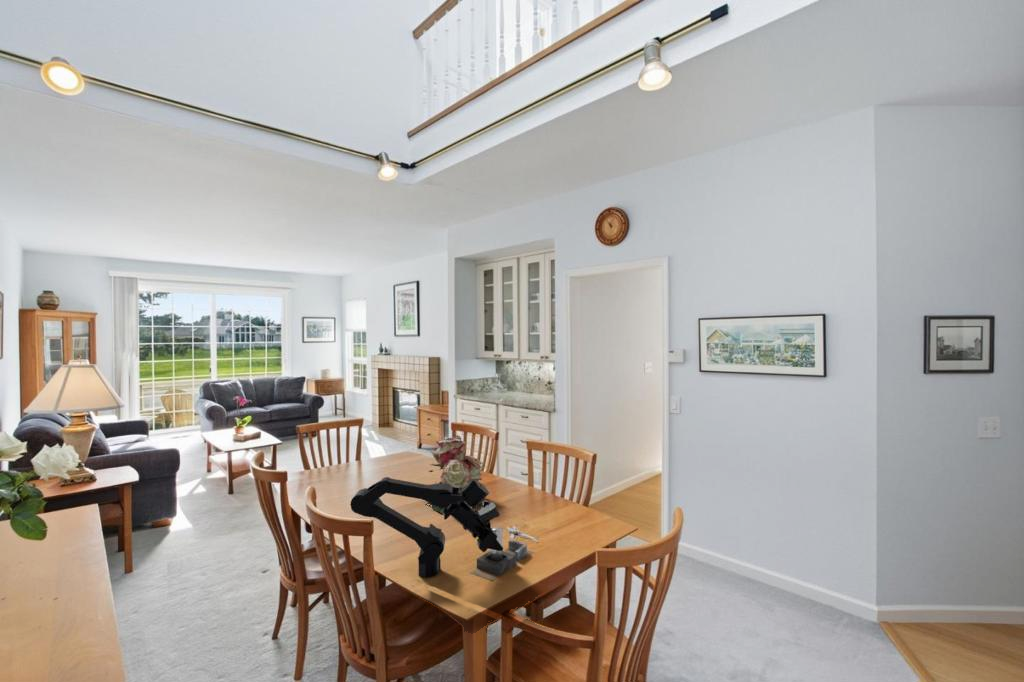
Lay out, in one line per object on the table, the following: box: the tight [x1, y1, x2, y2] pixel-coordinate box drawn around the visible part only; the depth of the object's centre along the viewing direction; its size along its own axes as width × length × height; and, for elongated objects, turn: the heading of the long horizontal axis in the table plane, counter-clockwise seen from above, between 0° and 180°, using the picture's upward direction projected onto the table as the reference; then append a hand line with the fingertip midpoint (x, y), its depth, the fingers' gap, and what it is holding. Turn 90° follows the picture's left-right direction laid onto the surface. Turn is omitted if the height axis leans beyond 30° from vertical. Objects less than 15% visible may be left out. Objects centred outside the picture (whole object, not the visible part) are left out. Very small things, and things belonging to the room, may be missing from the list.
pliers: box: [505, 525, 538, 544], centre depth 176 cm, size 10×2×15 cm
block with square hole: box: [469, 538, 535, 582], centre depth 153 cm, size 23×9×4 cm, turn 145°
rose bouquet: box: [426, 434, 483, 515], centre depth 214 cm, size 26×29×30 cm
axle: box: [489, 526, 504, 562], centre depth 150 cm, size 4×4×12 cm
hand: (500, 546), depth 151 cm, fingers closed on axle, 4 cm apart
